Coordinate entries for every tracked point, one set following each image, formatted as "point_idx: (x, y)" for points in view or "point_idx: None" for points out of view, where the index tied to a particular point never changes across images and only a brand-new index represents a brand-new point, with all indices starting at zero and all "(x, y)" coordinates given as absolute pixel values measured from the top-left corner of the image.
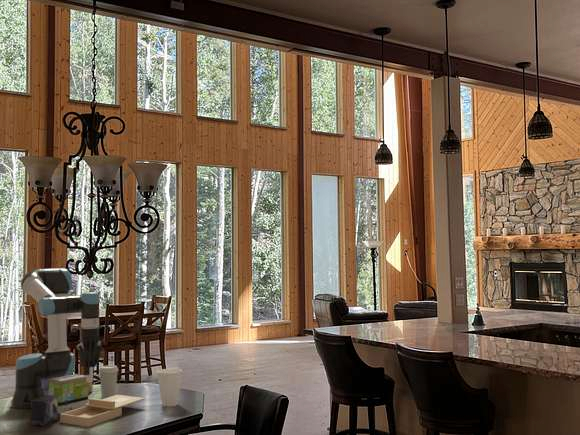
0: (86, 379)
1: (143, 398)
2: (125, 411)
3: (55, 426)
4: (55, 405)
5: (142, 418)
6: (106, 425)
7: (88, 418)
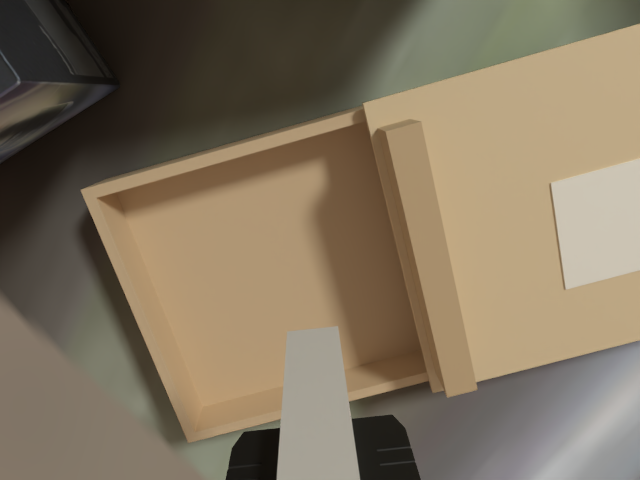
0: (286, 354)
1: None
2: None
3: (42, 250)
4: (29, 118)
5: (516, 475)
6: None
7: (189, 441)
